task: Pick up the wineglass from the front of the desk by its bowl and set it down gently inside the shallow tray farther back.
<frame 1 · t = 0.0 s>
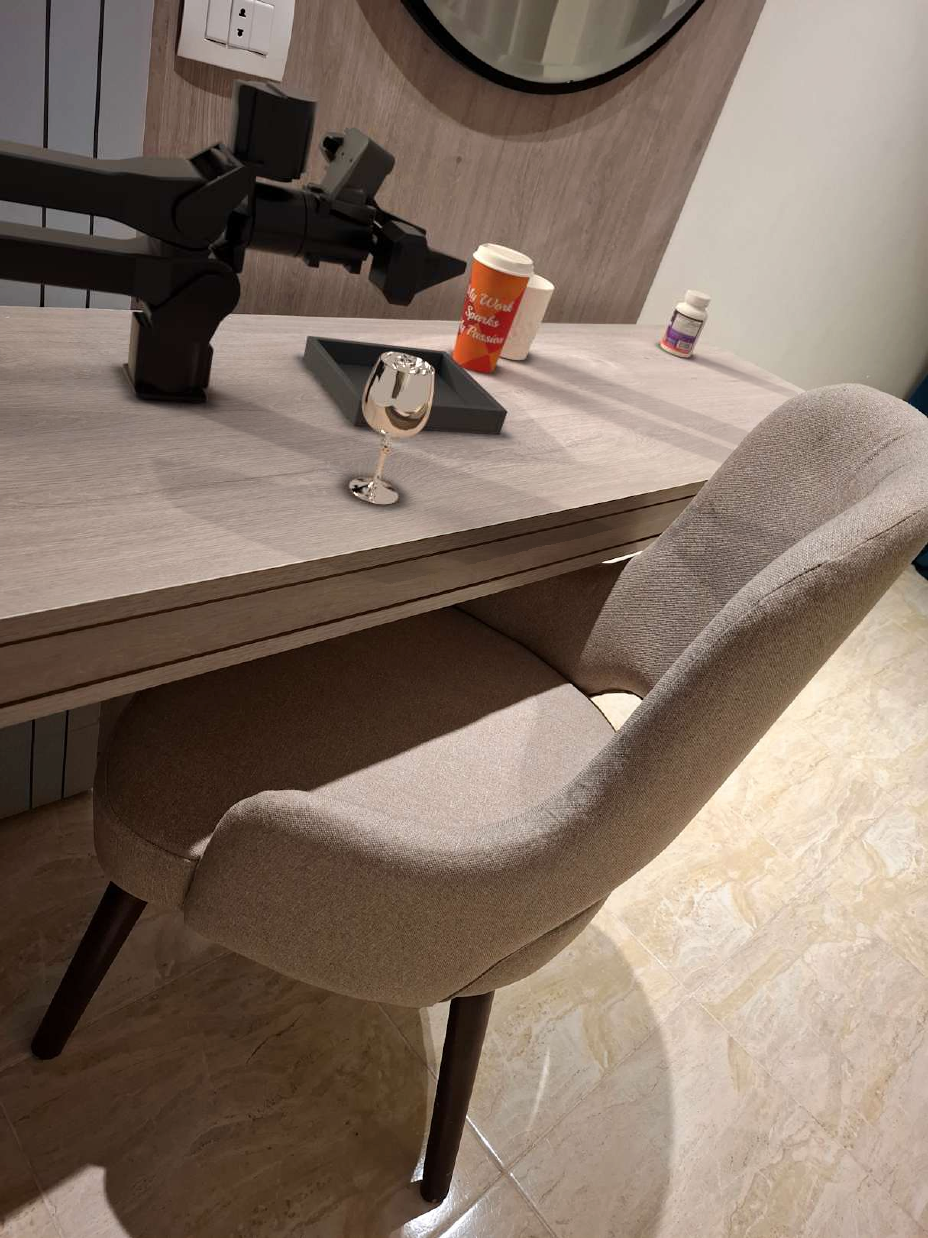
hand: (444, 250, 89), 17 cm above the table, tool horizontal, fingers open, 9 cm apart
paper cup: (473, 364, 116), on the table
tray: (400, 396, 100), on the table
white cup: (502, 351, 124), on the table
pill bottle: (674, 352, 151), on the table
wineglass: (373, 493, 80), on the table
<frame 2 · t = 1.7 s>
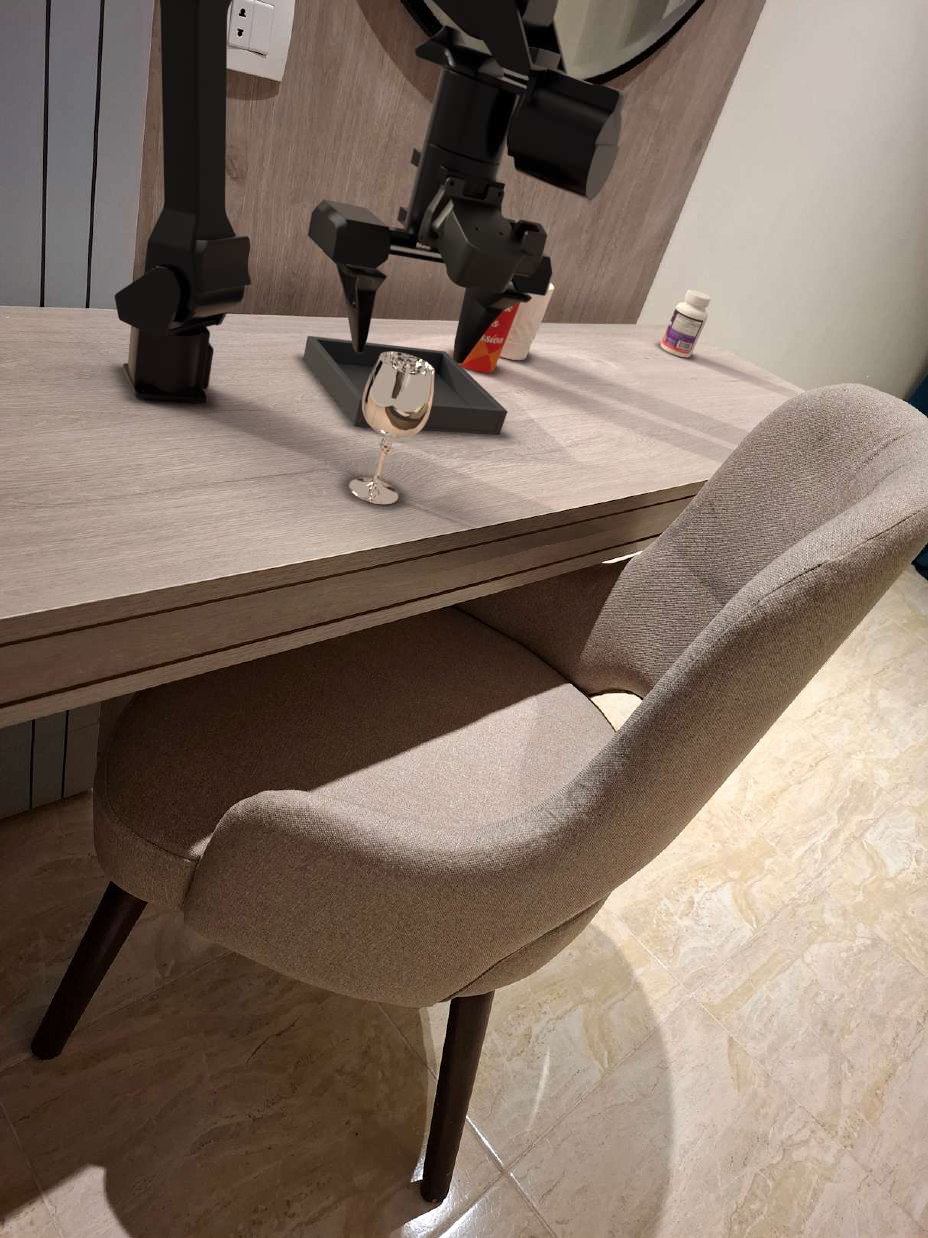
hand: (409, 356, 73), 13 cm above the table, tool pointing down, fingers open, 9 cm apart
nothing on the table moved.
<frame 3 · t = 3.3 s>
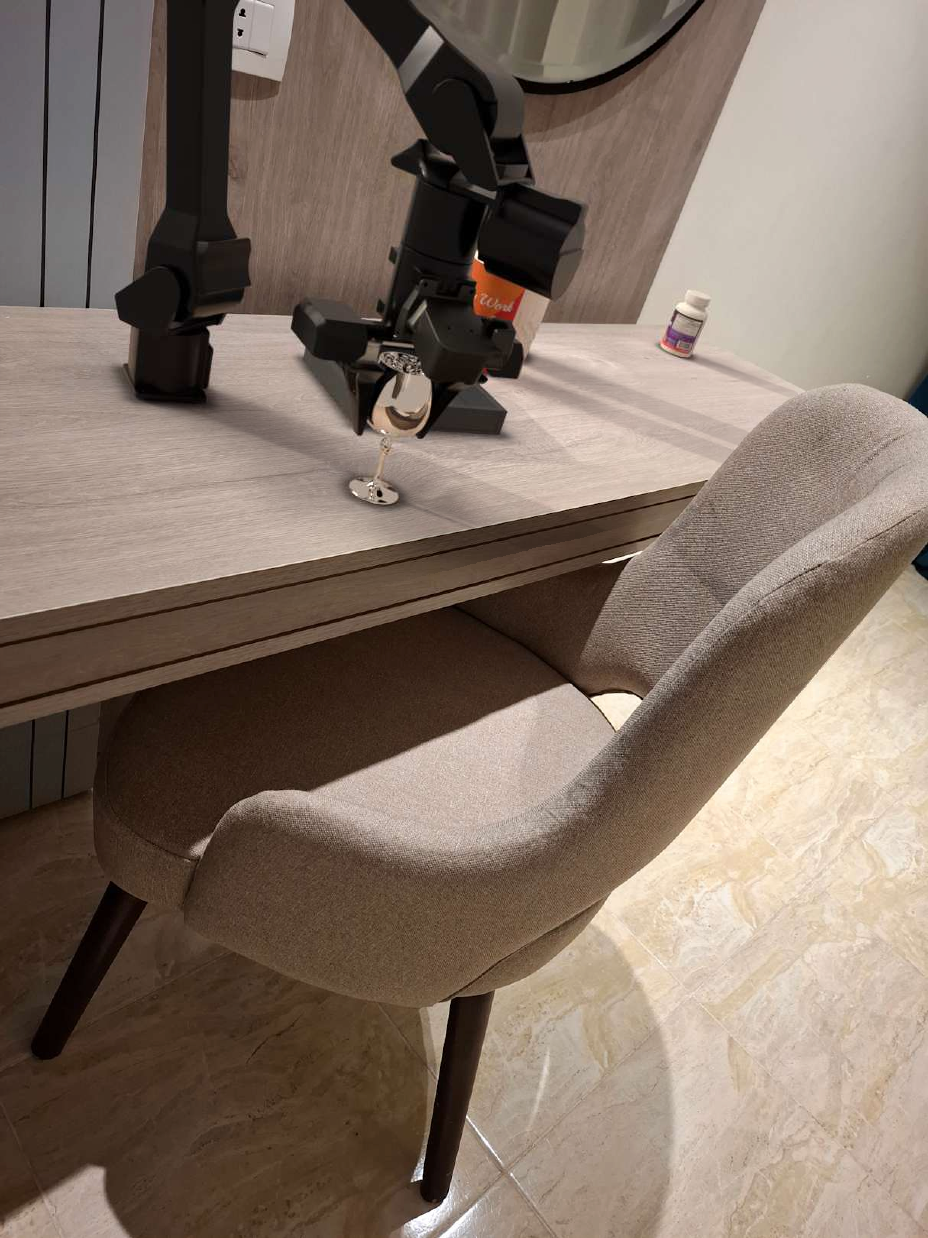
hand: (388, 435, 77), 6 cm above the table, tool pointing down, fingers closed on wineglass, 5 cm apart
wineglass: (373, 493, 80), on the table, touching gripper
everything else where it was.
when the fingers open (6 cm above the table, at t = 10.3 s): wineglass stays where it is, resting on tray.
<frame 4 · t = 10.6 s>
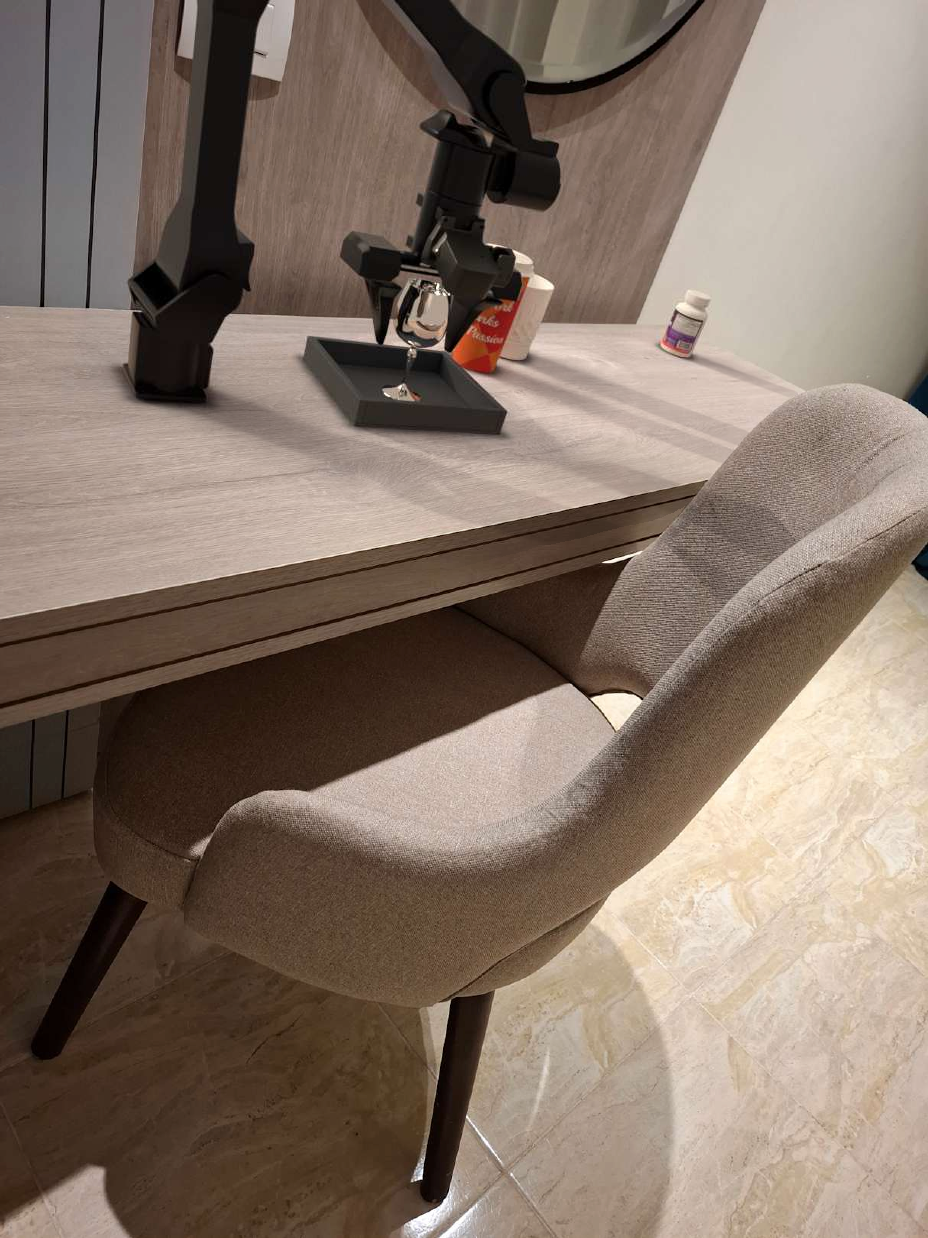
hand: (414, 347, 97), 6 cm above the table, tool pointing down, fingers open, 8 cm apart
wineglass: (400, 396, 100), resting on tray
everything else where it was.
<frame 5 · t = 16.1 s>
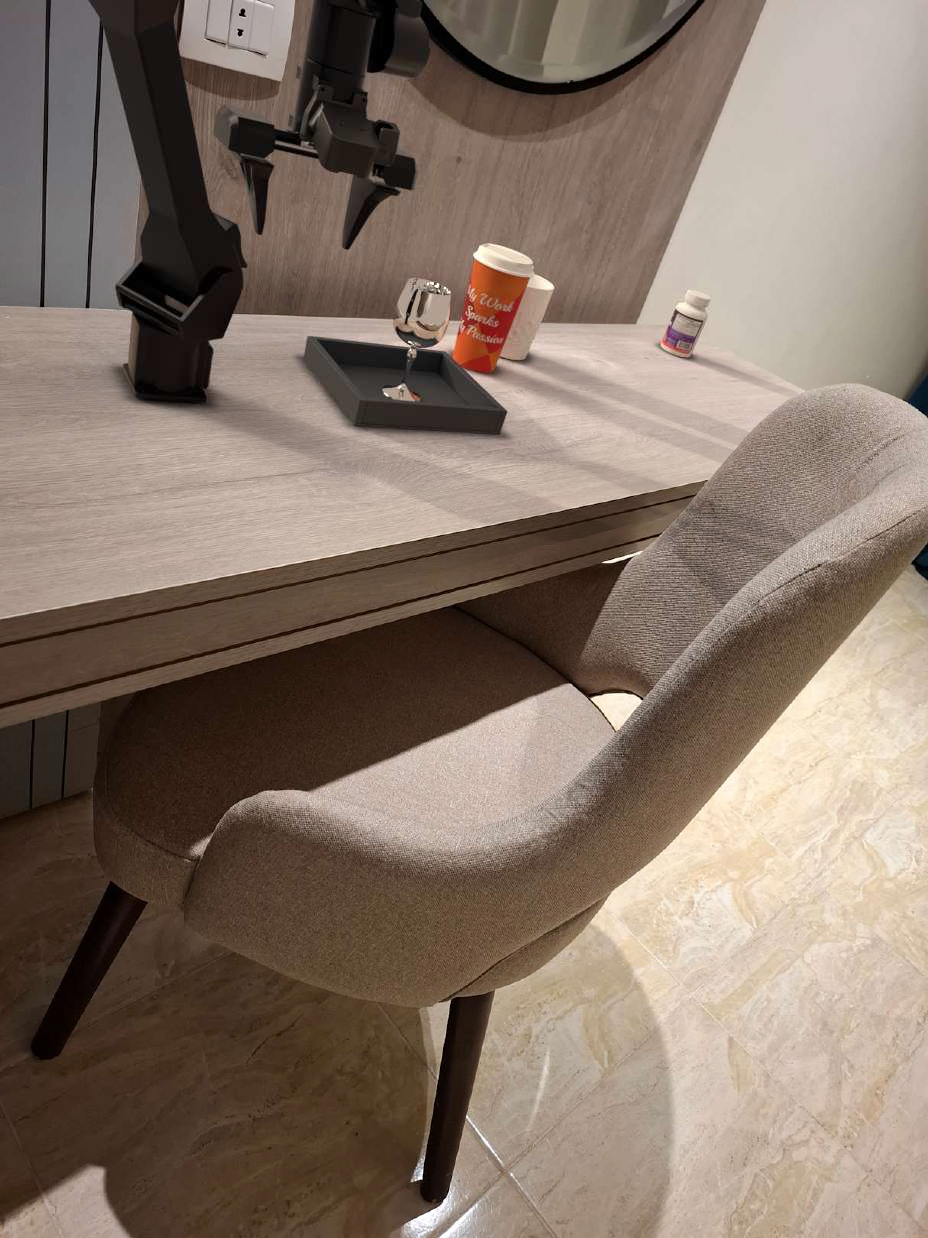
hand: (302, 241, 90), 13 cm above the table, tool pointing down, fingers open, 9 cm apart
nothing on the table moved.
at the end: wineglass inside the target area in the tray (0.1 cm from its centre), point 0.1 cm above the tray's base; wineglass tilted 0°; the gripper is holding nothing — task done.
